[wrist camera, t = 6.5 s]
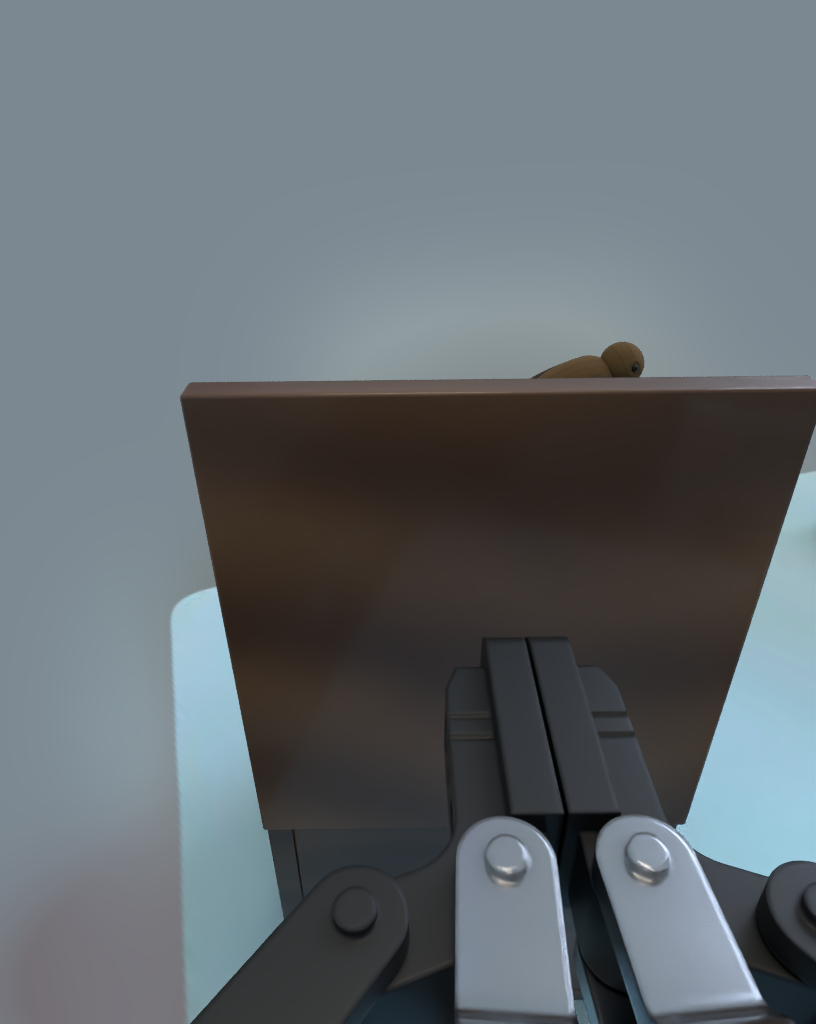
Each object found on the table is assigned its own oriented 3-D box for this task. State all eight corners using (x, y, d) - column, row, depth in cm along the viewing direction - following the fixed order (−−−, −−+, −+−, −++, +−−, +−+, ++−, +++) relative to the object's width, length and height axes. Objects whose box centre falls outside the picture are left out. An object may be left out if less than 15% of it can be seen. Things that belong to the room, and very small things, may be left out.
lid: (188, 380, 15) (178, 395, 14) (810, 374, 15) (829, 388, 14) (267, 808, 22) (263, 830, 22) (676, 802, 22) (685, 825, 22)
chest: (328, 735, 40) (313, 574, 34) (559, 732, 40) (583, 571, 34) (298, 1003, 28) (266, 827, 22) (624, 999, 28) (678, 823, 22)
